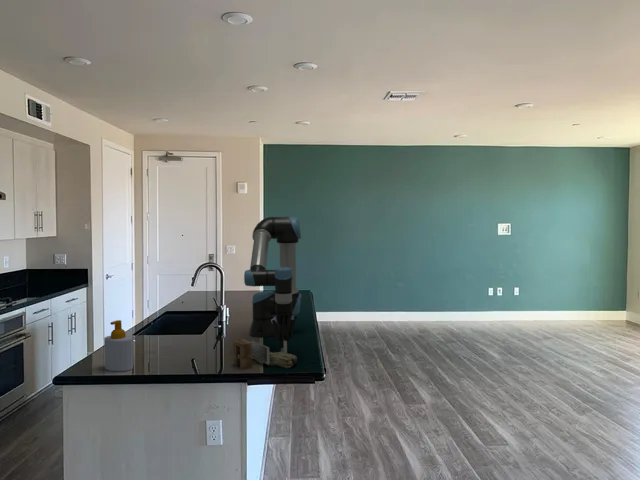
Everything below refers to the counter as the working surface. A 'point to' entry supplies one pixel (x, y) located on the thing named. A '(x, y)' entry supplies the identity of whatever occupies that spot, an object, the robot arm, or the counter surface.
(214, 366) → the counter surface
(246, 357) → the base
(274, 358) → the mushroom
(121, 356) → the soap bottle
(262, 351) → the plate
